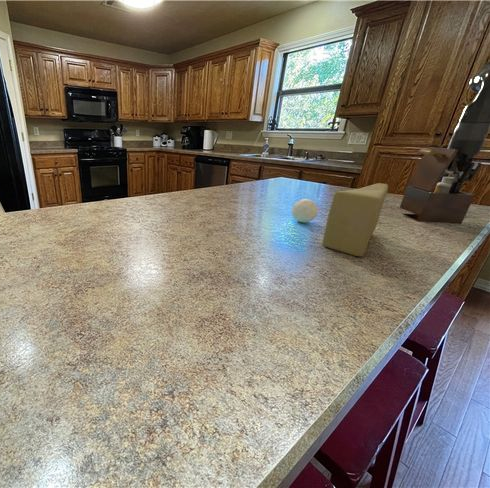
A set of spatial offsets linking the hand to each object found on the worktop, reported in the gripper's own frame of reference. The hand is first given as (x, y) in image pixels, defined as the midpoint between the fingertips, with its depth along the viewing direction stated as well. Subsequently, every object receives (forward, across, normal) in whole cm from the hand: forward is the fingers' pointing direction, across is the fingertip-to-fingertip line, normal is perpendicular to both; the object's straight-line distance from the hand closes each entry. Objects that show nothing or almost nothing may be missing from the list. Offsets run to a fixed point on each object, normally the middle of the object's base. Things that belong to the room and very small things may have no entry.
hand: (445, 191), depth 91 cm
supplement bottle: (+6, 0, 0) cm, 6 cm away
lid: (-7, 0, +7) cm, 10 cm away
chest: (+9, 0, +2) cm, 10 cm away
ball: (+9, -14, +48) cm, 51 cm away
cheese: (+9, -30, +39) cm, 50 cm away
